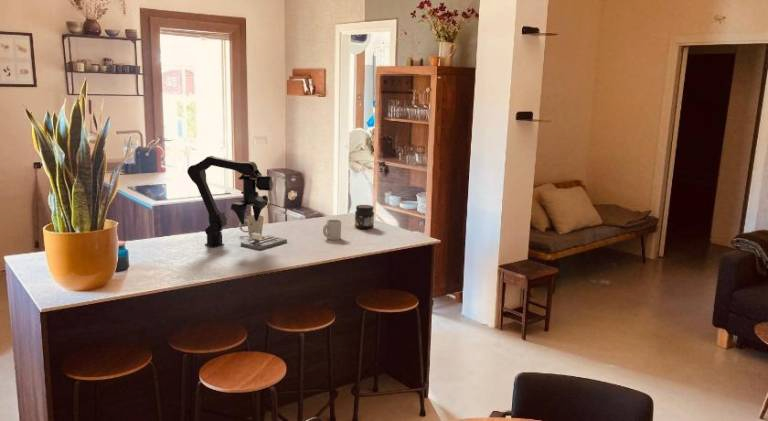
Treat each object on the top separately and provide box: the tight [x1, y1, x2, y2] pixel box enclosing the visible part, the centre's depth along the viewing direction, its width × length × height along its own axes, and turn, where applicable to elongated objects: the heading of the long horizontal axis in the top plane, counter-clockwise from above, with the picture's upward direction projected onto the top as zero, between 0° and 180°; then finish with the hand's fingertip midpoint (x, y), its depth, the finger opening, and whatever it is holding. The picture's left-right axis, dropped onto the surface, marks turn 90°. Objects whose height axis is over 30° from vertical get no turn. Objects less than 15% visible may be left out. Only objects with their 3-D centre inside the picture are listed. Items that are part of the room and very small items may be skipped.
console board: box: [240, 234, 288, 251], centre depth 291 cm, size 19×12×2 cm, turn 148°
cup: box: [322, 219, 342, 241], centre depth 306 cm, size 7×10×9 cm
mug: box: [238, 214, 265, 238], centre depth 304 cm, size 8×13×10 cm, turn 89°
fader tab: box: [251, 233, 263, 243], centre depth 286 cm, size 2×4×4 cm, turn 58°
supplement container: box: [354, 204, 375, 231], centre depth 332 cm, size 10×10×12 cm
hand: (249, 222), depth 281 cm, fingers open, 9 cm apart
